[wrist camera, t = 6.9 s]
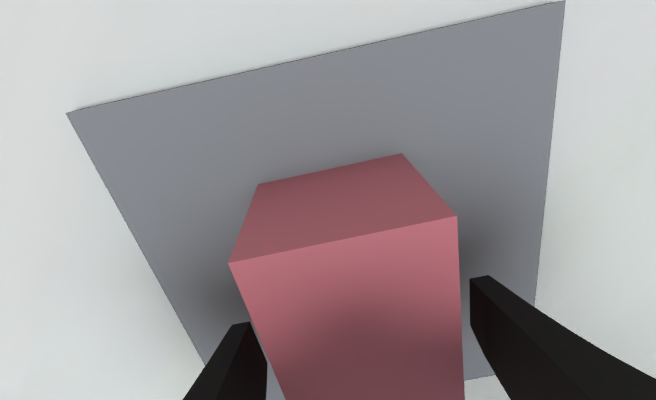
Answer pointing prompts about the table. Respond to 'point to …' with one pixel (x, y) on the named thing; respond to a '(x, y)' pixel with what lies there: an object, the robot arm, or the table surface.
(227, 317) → the desk mat
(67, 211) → the table surface
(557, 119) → the table surface
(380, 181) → the pink and white block
